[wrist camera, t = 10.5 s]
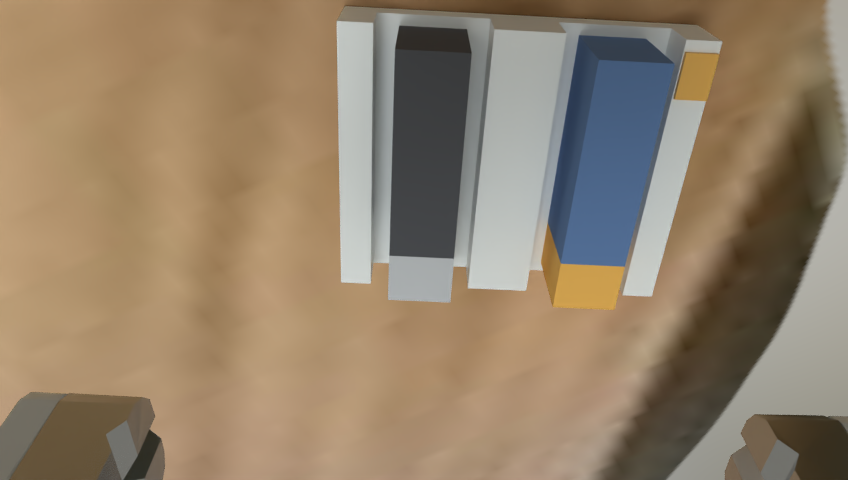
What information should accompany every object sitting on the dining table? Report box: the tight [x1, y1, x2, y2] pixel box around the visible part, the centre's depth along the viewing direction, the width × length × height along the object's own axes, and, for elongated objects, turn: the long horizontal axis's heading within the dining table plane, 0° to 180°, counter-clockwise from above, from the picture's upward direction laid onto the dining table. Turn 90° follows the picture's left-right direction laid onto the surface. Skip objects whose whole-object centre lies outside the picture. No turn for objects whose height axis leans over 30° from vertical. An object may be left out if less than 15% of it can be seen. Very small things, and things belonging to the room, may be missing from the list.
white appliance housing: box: [337, 6, 722, 296], centre depth 32 cm, size 13×16×3 cm
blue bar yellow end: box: [541, 35, 675, 310], centre depth 30 cm, size 12×3×4 cm, turn 177°
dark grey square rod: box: [388, 26, 472, 302], centre depth 30 cm, size 12×3×4 cm, turn 177°
